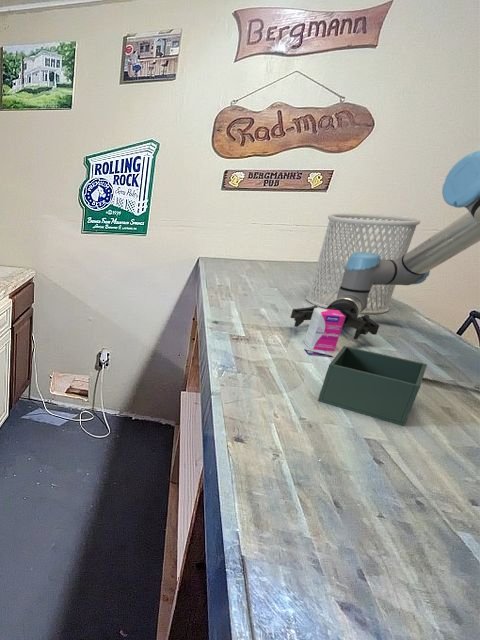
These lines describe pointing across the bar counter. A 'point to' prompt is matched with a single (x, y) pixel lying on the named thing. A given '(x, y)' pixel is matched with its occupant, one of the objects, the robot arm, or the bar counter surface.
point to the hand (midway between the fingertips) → (325, 327)
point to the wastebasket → (406, 222)
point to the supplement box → (324, 330)
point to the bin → (372, 384)
